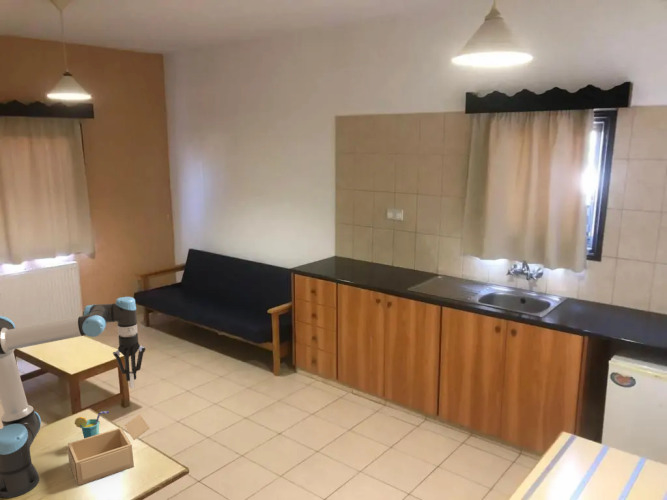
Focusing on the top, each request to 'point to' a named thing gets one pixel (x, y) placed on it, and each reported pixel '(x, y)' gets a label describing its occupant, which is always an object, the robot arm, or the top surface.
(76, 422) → the cup
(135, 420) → the flap
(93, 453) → the open wooden box
